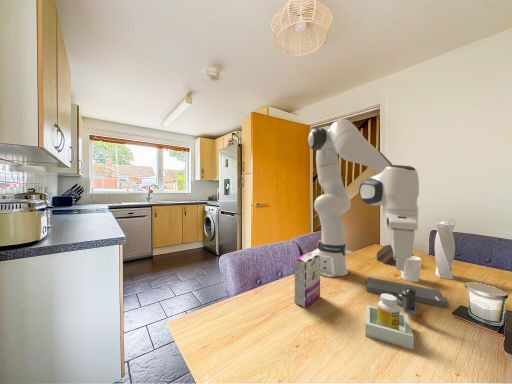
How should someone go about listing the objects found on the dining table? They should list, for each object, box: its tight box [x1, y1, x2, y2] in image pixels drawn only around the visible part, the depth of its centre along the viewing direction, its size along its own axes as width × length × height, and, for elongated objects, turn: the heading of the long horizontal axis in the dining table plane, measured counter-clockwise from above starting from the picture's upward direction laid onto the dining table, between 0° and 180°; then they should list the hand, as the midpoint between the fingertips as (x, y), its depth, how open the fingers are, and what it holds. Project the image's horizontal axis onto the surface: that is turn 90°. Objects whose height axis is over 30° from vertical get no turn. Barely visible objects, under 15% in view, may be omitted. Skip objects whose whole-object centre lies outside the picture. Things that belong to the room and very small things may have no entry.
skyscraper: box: [432, 219, 459, 281], centre depth 101 cm, size 8×8×28 cm
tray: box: [365, 304, 415, 351], centre depth 62 cm, size 11×11×4 cm
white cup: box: [400, 255, 422, 283], centre depth 98 cm, size 8×8×10 cm
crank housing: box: [366, 277, 448, 309], centre depth 82 cm, size 25×17×2 cm
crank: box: [397, 288, 417, 315], centre depth 73 cm, size 14×5×8 cm, turn 152°
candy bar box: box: [293, 251, 321, 309], centre depth 79 cm, size 11×5×16 cm, turn 138°
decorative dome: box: [376, 244, 415, 267], centre depth 122 cm, size 19×20×10 cm
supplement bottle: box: [377, 294, 400, 330], centre depth 62 cm, size 5×5×10 cm
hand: (398, 264), depth 64 cm, fingers open, 8 cm apart
